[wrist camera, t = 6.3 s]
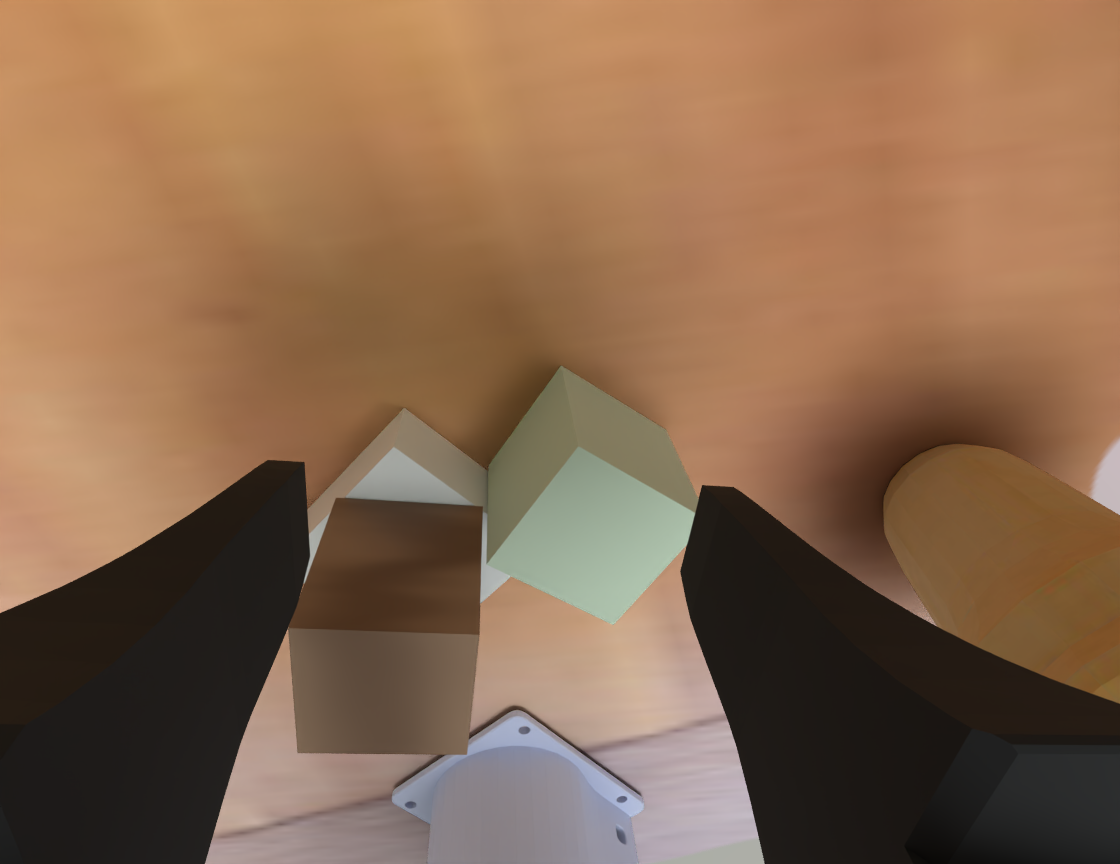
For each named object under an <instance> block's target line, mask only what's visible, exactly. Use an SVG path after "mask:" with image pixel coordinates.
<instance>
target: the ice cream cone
mask: <svg viewBox="0 0 1120 864" xmlns="http://www.w3.org/2000/svg"><path fill="white" fill-rule="evenodd" d="M883 516H884V533H885V535H886V538H887V540H888V542H889V545H890V547H891V549H892V551H893V553H894V555H895V557H896V559H897V561H898V563H899V565H900V566H901V568H902V570H903V572H904V574H905V575H906V577H907V579H908V580H909V582H910V584H911V585H912V587H913V588H914V590H915V592H916V593H917V595H918V597H919V598H920V600H921V601H922V603H923V605H924V606H925V608H926V609H927V611H928V612H929V614H930V616H931V617H932V619H933V620H934V622H935V624H936V625H937V627H939V628H941V629H943V630H945V631H947V632H949V633H951V634H953V635H955V636H957V637H959V638H961V639H963V640H965V641H967V642H969V643H971V644H973V645H975V646H977V647H979V648H981V649H983V650H985V651H988V652H990V653H992V654H994V655H996V656H999V657H1001V658H1003V659H1005V660H1008V661H1010V662H1012V663H1015V664H1017V665H1019V666H1022V667H1024V668H1027V669H1029V670H1031V671H1034V672H1036V673H1039V674H1041V675H1043V676H1046V677H1048V678H1051V679H1053V680H1056V681H1058V682H1061V683H1064V684H1066V685H1069V686H1072V687H1075V688H1078V689H1080V690H1083V691H1086V692H1089V693H1091V694H1094V695H1097V696H1100V697H1103V698H1105V699H1108V700H1111V701H1114V702H1117V703H1119V704H1120V515H1118V514H1116V513H1115V512H1113V511H1112V510H1110V509H1108V508H1106V507H1105V506H1103V505H1101V504H1100V503H1098V502H1096V501H1095V500H1093V499H1091V498H1089V497H1088V496H1086V495H1084V494H1083V493H1081V492H1079V491H1077V490H1076V489H1074V488H1072V487H1071V486H1069V485H1067V484H1065V483H1064V482H1062V481H1060V480H1058V479H1057V478H1055V477H1053V476H1051V475H1050V474H1048V473H1046V472H1044V471H1043V470H1041V469H1039V468H1037V467H1035V466H1034V465H1032V464H1030V463H1028V462H1026V461H1024V460H1022V459H1020V458H1018V457H1016V456H1014V455H1012V454H1010V453H1007V452H1005V451H1003V450H1001V449H995V448H990V447H984V446H977V445H967V444H950V445H942V446H937V447H935V448H932V449H930V450H927V451H925V452H923V453H920V454H919V455H917V456H916V457H914V458H913V459H912V460H910V461H909V462H908V463H906V464H905V465H904V466H902V468H901V469H900V470H899V471H898V473H897V474H896V475H895V476H894V477H893V479H892V480H891V481H890V483H889V486H888V488H887V490H886V493H885V495H884V501H883Z"/></svg>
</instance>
